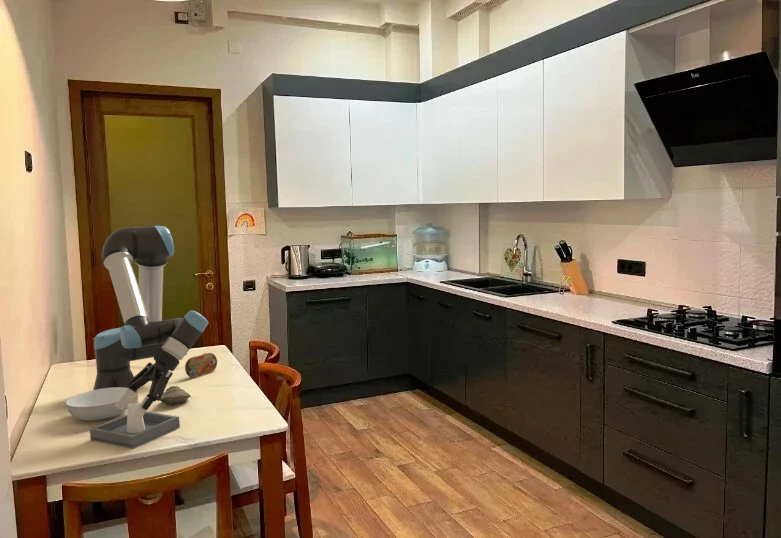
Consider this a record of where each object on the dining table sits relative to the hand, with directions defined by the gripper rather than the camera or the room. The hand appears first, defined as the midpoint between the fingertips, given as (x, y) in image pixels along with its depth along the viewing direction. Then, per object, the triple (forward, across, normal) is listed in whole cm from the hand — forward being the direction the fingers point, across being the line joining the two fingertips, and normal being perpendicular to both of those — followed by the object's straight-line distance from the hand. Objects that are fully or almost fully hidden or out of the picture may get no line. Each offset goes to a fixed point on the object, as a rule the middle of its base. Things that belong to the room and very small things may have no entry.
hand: (126, 413), depth 190 cm
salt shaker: (+3, 0, -6) cm, 7 cm away
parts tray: (+3, 0, -7) cm, 8 cm away
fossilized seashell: (-11, +20, -22) cm, 31 cm away
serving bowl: (+4, +26, -6) cm, 27 cm away
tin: (-29, +47, -39) cm, 68 cm away
